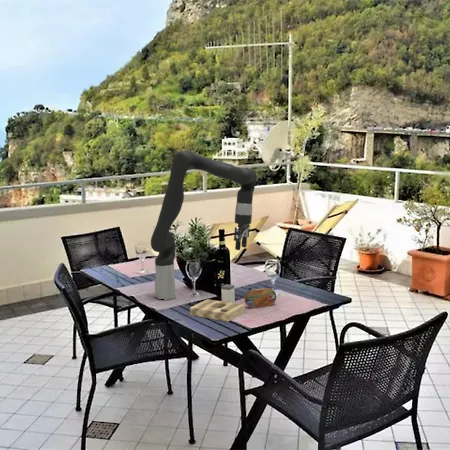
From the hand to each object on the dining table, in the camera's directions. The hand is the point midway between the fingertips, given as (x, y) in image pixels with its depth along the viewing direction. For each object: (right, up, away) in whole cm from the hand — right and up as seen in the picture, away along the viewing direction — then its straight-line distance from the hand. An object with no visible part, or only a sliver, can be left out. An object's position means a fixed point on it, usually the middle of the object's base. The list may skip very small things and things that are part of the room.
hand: (240, 248), depth 254 cm
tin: (+9, -27, +6) cm, 29 cm away
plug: (-6, -27, +11) cm, 29 cm away
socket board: (-10, -29, -2) cm, 31 cm away
